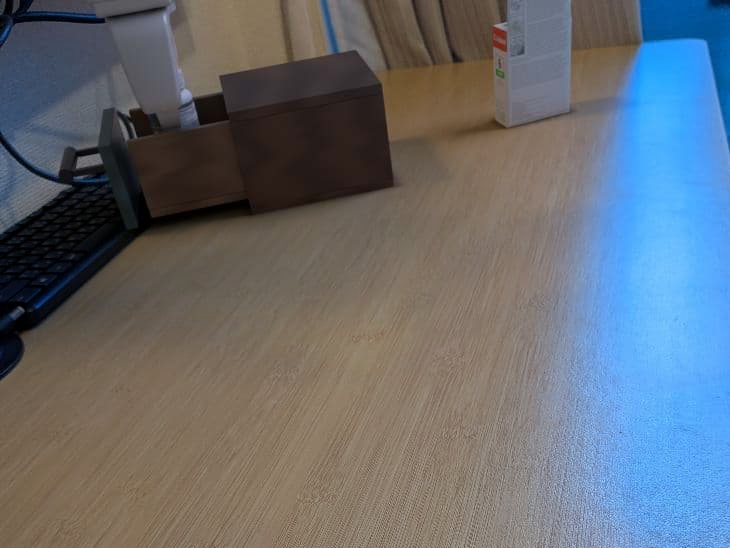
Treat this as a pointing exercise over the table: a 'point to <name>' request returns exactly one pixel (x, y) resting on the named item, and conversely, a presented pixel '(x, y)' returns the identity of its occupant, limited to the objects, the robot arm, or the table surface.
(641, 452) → the table surface
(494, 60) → the ink box
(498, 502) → the table surface
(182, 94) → the pill bottle
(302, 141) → the cabinet
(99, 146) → the drawer
